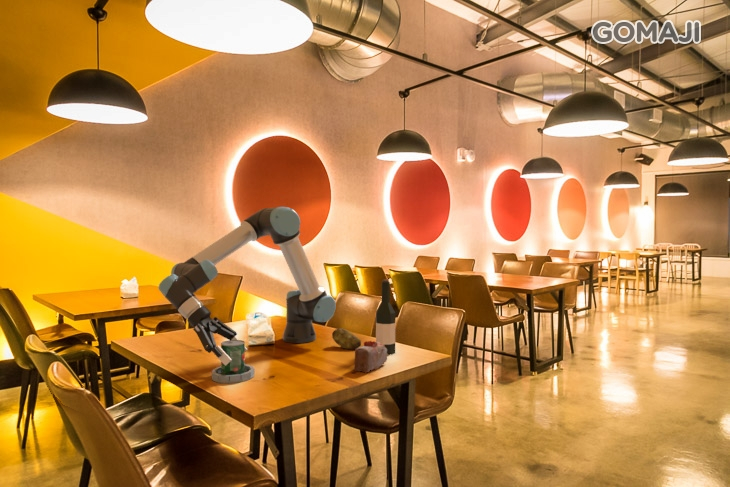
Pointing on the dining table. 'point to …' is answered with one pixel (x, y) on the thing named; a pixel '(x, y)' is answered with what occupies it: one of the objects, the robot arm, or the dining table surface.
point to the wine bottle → (386, 320)
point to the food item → (370, 356)
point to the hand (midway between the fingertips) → (237, 357)
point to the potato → (346, 339)
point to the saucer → (233, 378)
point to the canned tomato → (234, 357)
